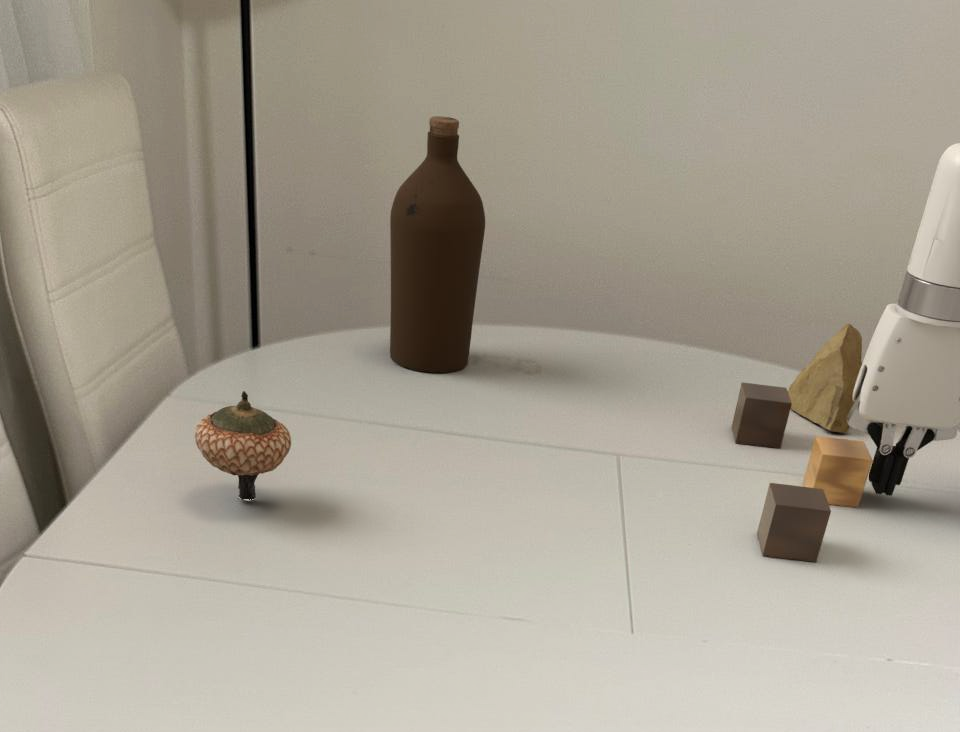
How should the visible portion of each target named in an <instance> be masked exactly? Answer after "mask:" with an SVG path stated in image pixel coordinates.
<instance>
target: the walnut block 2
mask: <svg viewBox="0 0 960 732" xmlns="http://www.w3.org/2000/svg"><path fill="white" fill-rule="evenodd" d="M831 513H832V509H831V507H830V504H828V501H827V499H826V496H825V493H824V490H823V489H818V488H810V487H804V486H801V485H794V484H793V485H791V484H785V483H784V484H783V483H775V482H769V484H768V487H767V493H766V496H765V500H764V504H763V508H762V511H761V516H760V520H759V523H758V528H757V531H756V534H757V538H758V543H759V546H760V551H761V554H762V556H763V557H771V558H779V559H787V560H793V561H801V562H802V561H803V562H810V563H817V561H818V558H819V554H820V551H821V547H822V544H823V540H824V538H825V533H826V530H827V527H828V524H829V521H830V516H831Z"/></svg>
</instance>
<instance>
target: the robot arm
mask: <svg viewBox="0 0 960 732" xmlns="http://www.w3.org/2000/svg"><path fill="white" fill-rule="evenodd" d="M903 278H904V279H903V282H902V285H901V288H900V291H899V295H898V298H897V301H896V303H889V304H887V305H886V307H885V309H884V311H883V313H882V314H881V316H880V318H879V320H878V322H877V325H876V327H875V330H874V332H873V334H872V337H871V340H870V341H869V345H868V346H867V350H866V352H865V355H864V358H863V361H862V366H861V368H860V371H859V374H858V377H857V380H856V383H855V387H854V391H853V401H854V405H853V407H852V408H851V410H850V412H849V414H848V416H847V418H846V421H847V423H848V425H849V426H850V427H849V428H851V429H854V430H857V431H859V432H861V433H865V434H868V435H869V437H870V438H871V440H872V441H873V443H874V444H875V446H876V450H875V453H874V455H873V458H872V460H873V461H872V464H871V467H870V470H869V474H868V481H869V482H870V483H871V486H872V488H873V490H874V493H875V494H876V495H882V494H885V495H886V496H891V497H892V496H893V494H894V491H895V489H896V486H900V485H901V484H902V481H903V477H904V474H905V472H906V469H907V466H908V463H909V460H910V459H911V458H913V457H914V456H915V455H916V453H917V452H918V451H919V450H921V449H922V448H924V447H925V446H927V445H928V444H930V443H932V442H940V441H947V440H953V439H954V438H956V436H957V435H958V426H959V423H960V142H956V143H953V144H952V145H950V146H948V147H947V148H946V149H945V150H944V151H943V153H942V154H941V156H940V158H939V161H938V164H937V167H936V170H935V173H934V177H933V180H932V183H931V186H930V189H929V192H928V196H927V200H926V204H925V206H924V210H923V213H922V217H921V221H920V224H919V227H918V231H917V234H916V237H915V241H914V244H913V247H912V251H911V254H910V258H909V261H908V264H907V268H906V271H905V276H904V277H903ZM897 426H904V428H903V430H902V432H901V434H900V437H899V439H898V441H897V442H896V443H895V445H894V442H895V441H894V440H895V434H896V427H897Z"/></svg>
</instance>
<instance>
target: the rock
mask: <svg viewBox="0 0 960 732" xmlns="http://www.w3.org/2000/svg"><path fill="white" fill-rule="evenodd" d="M862 342H863V337H862V334H861V333H860V331H859V330H858V329H857V328H856V327H854V326H853V325H852V324H850V323H845V324H844V325H843V327H842V328H841V329H840V330H839V331H838V332H837V333H836V334H834V335H833V336H832V337H831V338H830V340H827V342H826V343H825V344H824V345H823V346H822V348H821V349H820V350H819V351H818V352H817V353H816V354H815V355H814V357H813V358H812V361H809V364H808V365H806V366H805V367H804V368H803V369H802V370H801V371H800V372H799V373H798V374H797V376H796V377H795V379H793V381H792V382H791V384H790V386H789V387H788V390H787V391H788V394H789V397H790V399H791V402H792V405H791V409H790V410H792V411H794V412H795V413H797V414H798V415H800V416H802V417H803V418H806V419H808V420H809V421H810V422H812V423H814V424H817V425H819V426H821V428H823V429H825V430H826V431H829V432H833V433H840V434H847V432H848V431H849V428H851V427H850V426H849V425H848V423H847V421H846V418H847V416H848V414H849V412H850V410H851V408H852V407H853V405H854V401H853V391H854V387H855V383H856V380H857V377H858V374H859V371H860V368H861V366H862V363H863V361H862V355H863V353H862V352H863V343H862Z"/></svg>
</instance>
